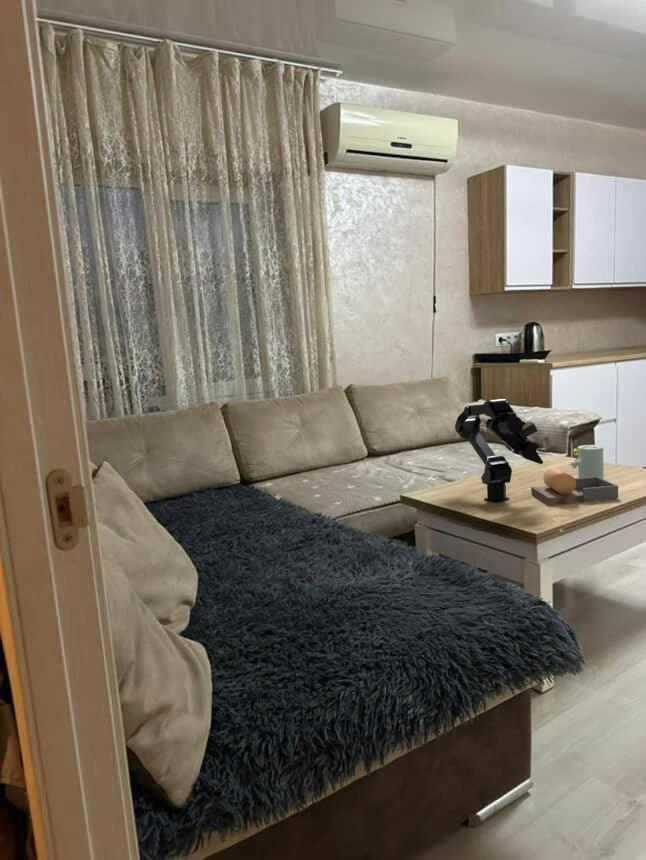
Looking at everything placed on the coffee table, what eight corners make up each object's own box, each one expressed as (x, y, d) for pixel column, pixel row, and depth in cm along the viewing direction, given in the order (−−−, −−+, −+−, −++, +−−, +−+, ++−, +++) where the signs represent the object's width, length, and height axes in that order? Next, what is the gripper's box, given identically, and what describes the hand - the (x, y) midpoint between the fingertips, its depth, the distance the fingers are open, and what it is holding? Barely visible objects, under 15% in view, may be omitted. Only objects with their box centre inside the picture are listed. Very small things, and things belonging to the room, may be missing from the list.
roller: (576, 493, 208) (576, 473, 207) (556, 495, 208) (555, 475, 207) (562, 486, 219) (562, 467, 218) (543, 487, 219) (543, 468, 218)
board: (548, 505, 206) (548, 498, 205) (531, 493, 222) (531, 487, 221) (584, 502, 206) (584, 495, 206) (564, 491, 222) (563, 484, 221)
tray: (584, 501, 207) (583, 488, 206) (565, 491, 221) (565, 479, 220) (618, 498, 207) (618, 485, 206) (597, 488, 221) (597, 476, 221)
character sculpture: (582, 473, 245) (581, 440, 243) (612, 476, 237) (611, 442, 235) (561, 484, 231) (561, 449, 229) (593, 488, 223) (592, 452, 221)
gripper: (532, 418, 200) (565, 448, 202) (512, 411, 218) (543, 439, 220) (509, 443, 201) (543, 473, 203) (491, 435, 219) (522, 462, 221)
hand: (538, 461), depth 212 cm, fingers open, 6 cm apart
